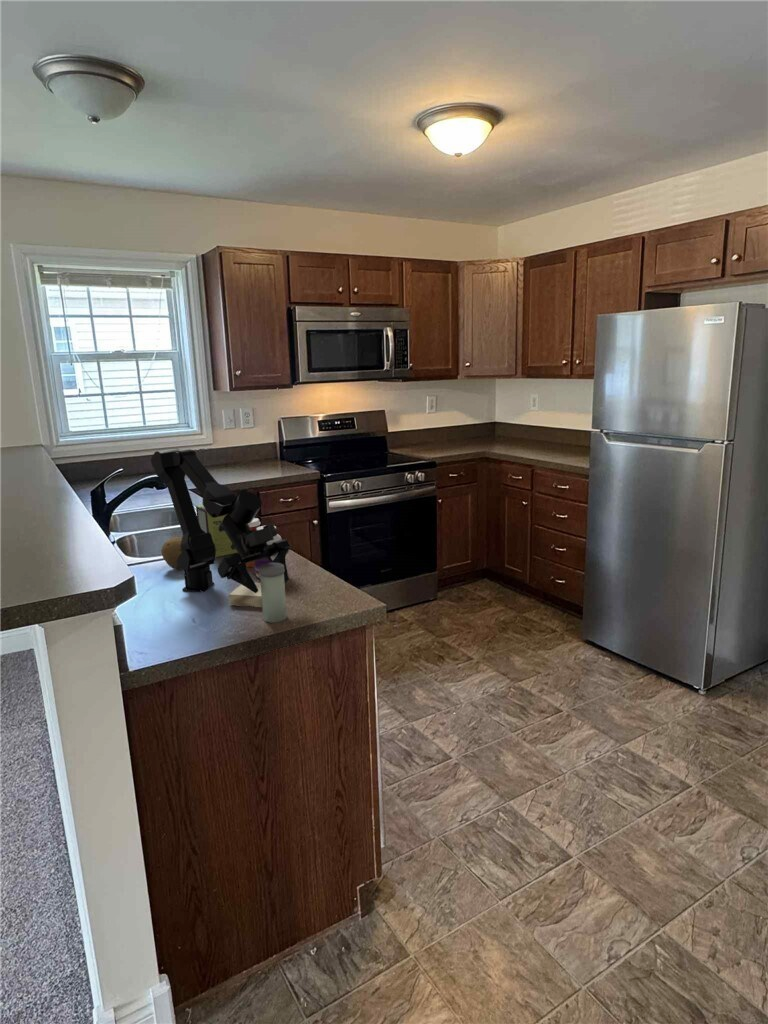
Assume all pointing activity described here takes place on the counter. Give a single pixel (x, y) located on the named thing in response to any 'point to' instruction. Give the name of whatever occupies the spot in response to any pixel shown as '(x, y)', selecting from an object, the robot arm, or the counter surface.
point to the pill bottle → (269, 543)
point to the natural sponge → (172, 551)
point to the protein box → (215, 531)
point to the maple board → (246, 596)
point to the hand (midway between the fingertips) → (272, 586)
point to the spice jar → (273, 592)
